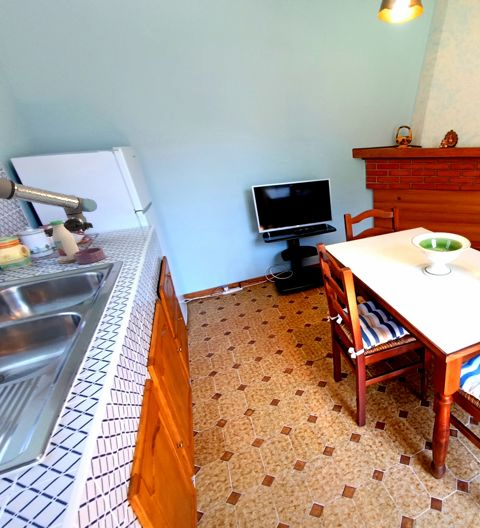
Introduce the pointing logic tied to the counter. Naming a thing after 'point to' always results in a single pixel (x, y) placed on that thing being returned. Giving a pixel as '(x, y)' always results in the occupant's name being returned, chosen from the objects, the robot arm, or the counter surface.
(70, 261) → the coaster
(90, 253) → the bowl
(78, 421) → the counter surface
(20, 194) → the robot arm
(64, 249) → the milk bottle
